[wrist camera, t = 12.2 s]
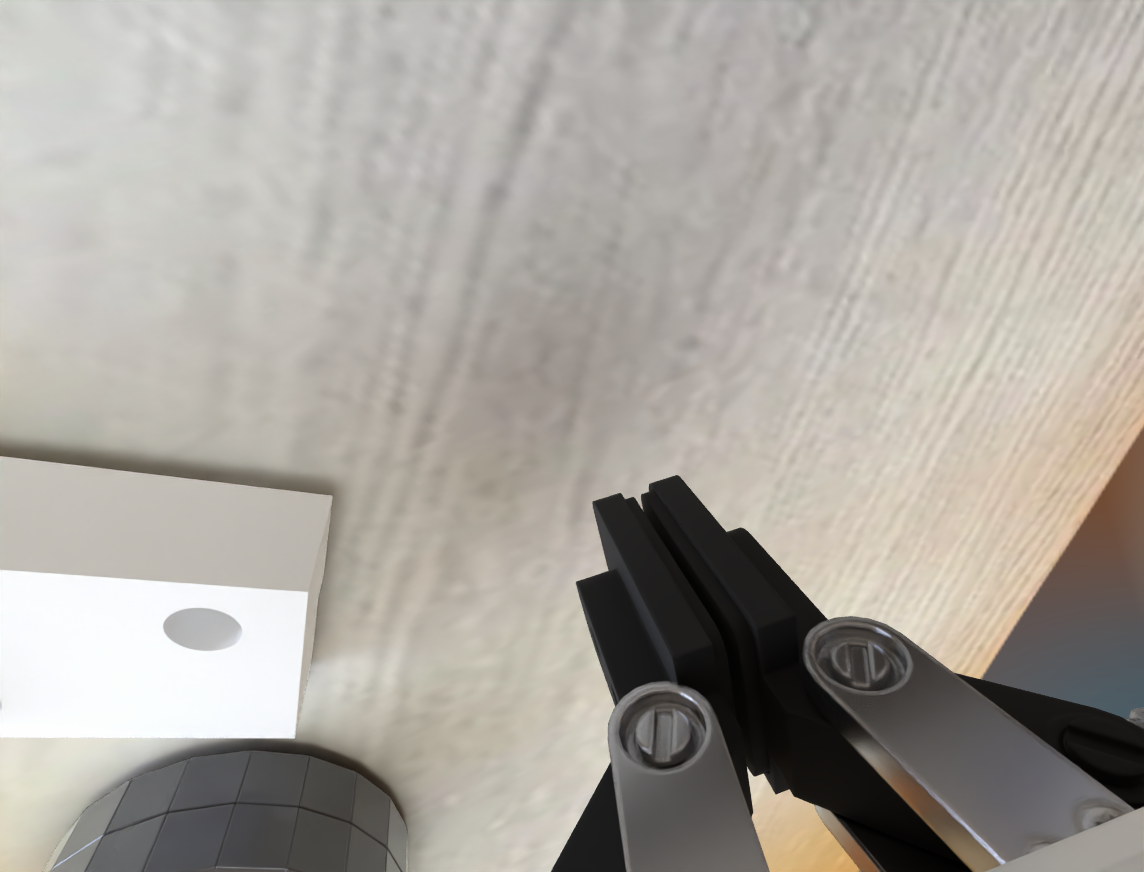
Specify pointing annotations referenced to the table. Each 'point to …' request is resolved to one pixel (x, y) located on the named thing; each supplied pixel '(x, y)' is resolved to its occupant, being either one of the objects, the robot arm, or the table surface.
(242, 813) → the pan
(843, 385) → the table surface
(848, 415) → the table surface
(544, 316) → the table surface
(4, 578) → the bracket
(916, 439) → the table surface
